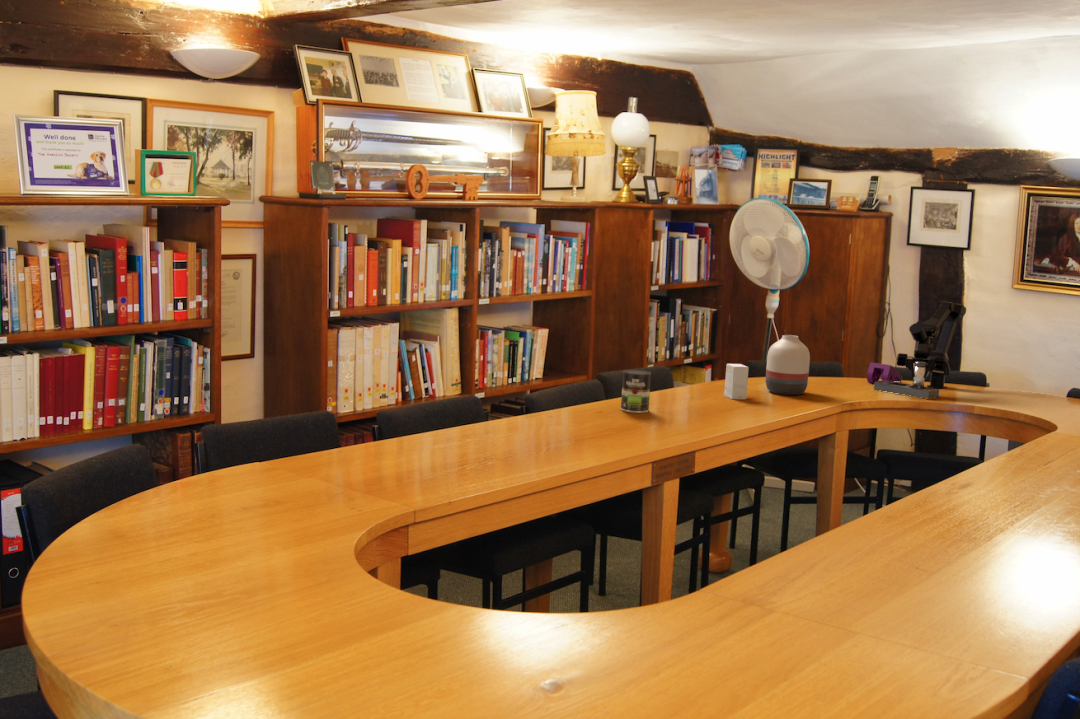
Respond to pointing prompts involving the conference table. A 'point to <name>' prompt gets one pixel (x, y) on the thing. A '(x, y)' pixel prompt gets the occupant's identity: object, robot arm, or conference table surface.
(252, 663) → the conference table surface
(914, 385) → the steel pin
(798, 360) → the vase
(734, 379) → the small box
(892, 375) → the mounting bracket
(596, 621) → the conference table surface
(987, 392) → the conference table surface
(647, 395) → the coffee can
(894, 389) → the rack rail
